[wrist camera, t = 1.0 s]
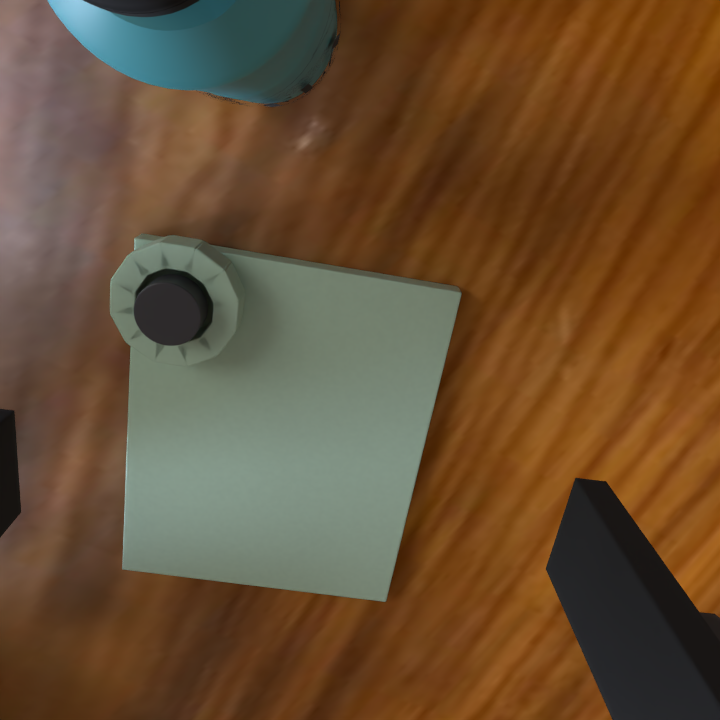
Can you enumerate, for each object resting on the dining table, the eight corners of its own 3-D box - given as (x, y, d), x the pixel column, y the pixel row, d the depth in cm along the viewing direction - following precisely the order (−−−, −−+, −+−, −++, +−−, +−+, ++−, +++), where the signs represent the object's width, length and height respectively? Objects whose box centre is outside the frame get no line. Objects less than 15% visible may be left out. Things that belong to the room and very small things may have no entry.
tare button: (145, 268, 28) (134, 277, 26) (210, 279, 28) (203, 288, 27) (142, 329, 29) (131, 341, 28) (205, 339, 29) (198, 351, 28)
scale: (132, 222, 30) (110, 233, 27) (460, 277, 31) (471, 293, 28) (121, 555, 37) (102, 591, 34) (385, 588, 39) (387, 625, 36)
